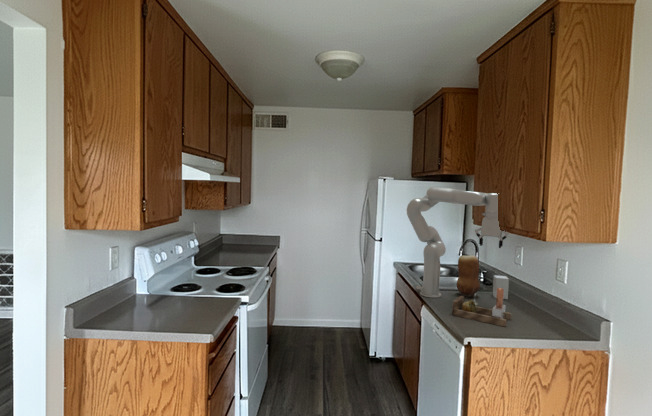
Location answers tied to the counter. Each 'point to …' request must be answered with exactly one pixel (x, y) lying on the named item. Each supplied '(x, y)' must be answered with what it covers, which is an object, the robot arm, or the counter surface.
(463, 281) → the butternut squash
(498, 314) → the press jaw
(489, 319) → the press frame
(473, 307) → the onion
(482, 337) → the counter surface
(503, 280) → the supplement box
